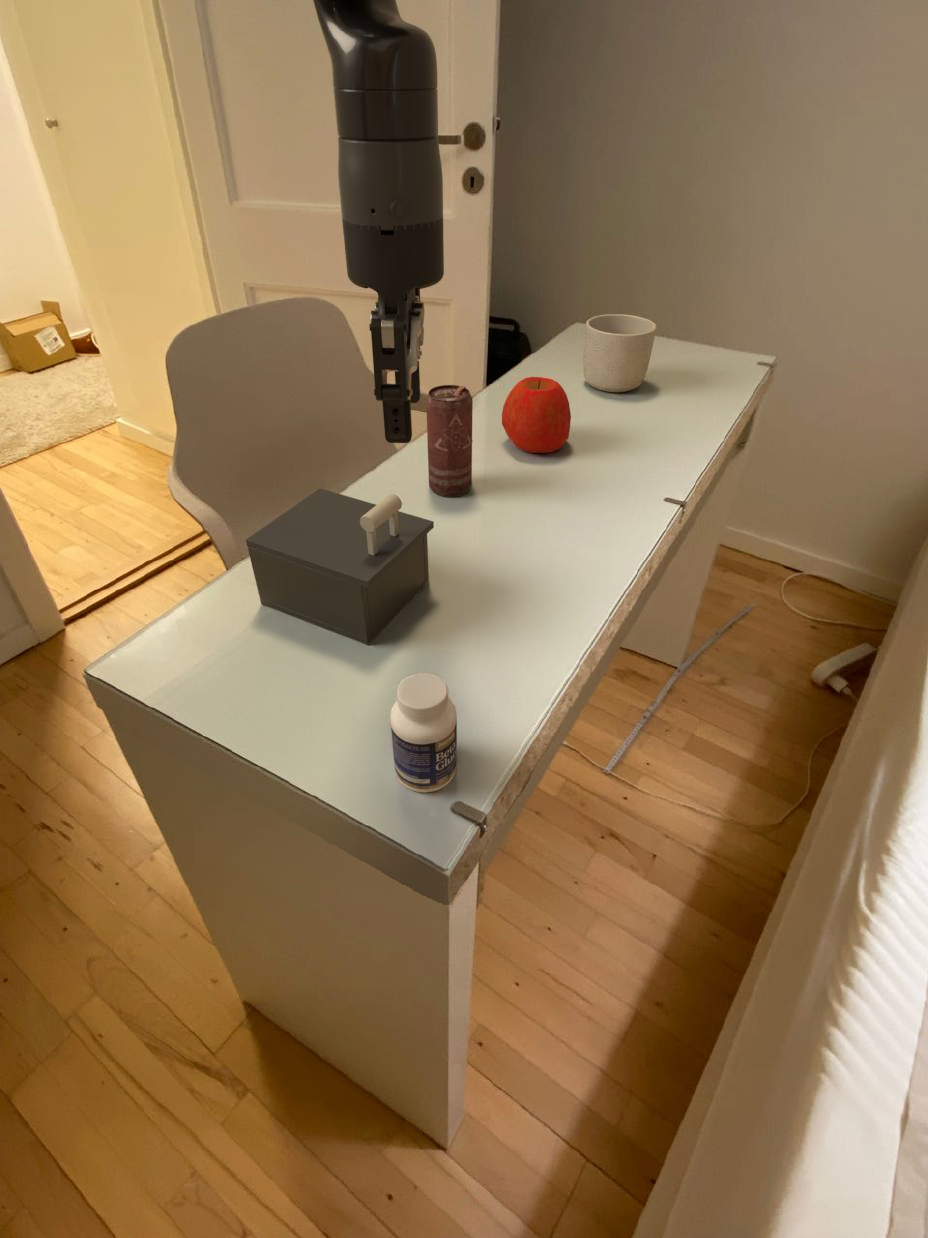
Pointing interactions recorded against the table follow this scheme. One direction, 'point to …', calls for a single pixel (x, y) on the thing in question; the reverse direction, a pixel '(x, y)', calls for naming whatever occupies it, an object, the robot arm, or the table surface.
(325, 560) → the upright box lid
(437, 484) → the can
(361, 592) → the hinged lid box
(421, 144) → the robot arm
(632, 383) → the planter
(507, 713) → the table surface
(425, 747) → the pill bottle
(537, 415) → the apple
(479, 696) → the table surface
